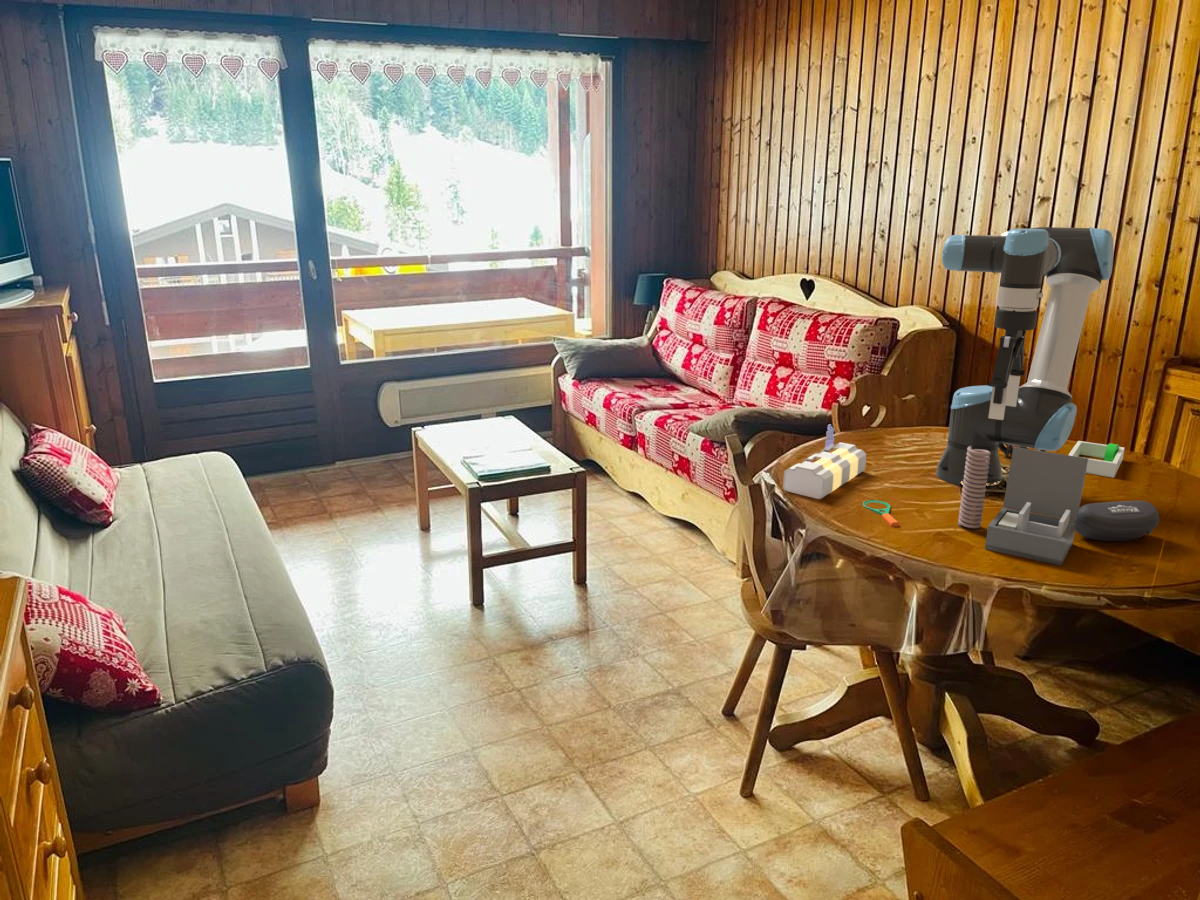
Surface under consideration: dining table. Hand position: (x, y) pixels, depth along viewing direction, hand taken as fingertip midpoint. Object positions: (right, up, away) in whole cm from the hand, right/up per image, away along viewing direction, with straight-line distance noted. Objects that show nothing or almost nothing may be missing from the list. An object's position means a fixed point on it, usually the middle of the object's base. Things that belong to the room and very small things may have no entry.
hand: (1002, 412), depth 179 cm
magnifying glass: (-19, -23, +16) cm, 34 cm away
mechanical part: (+55, -14, +51) cm, 76 cm away
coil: (-3, -25, +8) cm, 26 cm away
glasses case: (+24, -26, +3) cm, 36 cm away
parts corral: (+46, -12, +48) cm, 68 cm away
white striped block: (-27, -17, +36) cm, 48 cm away
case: (+6, -27, 0) cm, 28 cm away
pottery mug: (+29, -11, +54) cm, 62 cm away
